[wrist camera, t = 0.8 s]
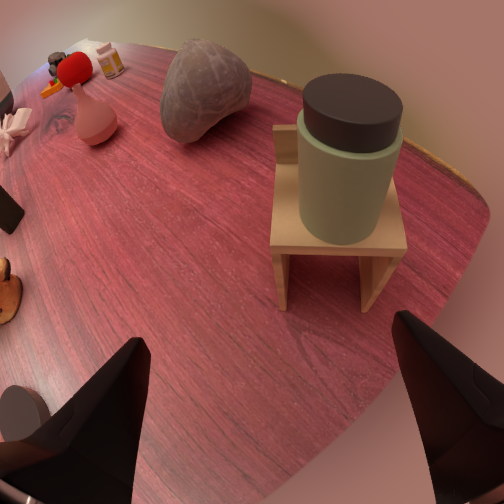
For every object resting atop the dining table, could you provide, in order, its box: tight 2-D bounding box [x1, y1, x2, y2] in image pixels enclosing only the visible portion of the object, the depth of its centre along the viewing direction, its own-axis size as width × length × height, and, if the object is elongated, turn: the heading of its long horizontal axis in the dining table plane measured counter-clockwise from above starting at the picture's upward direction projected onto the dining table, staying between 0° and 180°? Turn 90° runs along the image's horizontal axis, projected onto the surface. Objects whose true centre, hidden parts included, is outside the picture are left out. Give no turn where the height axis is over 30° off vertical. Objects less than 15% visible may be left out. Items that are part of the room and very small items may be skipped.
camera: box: [48, 52, 66, 77], centre depth 75 cm, size 15×7×10 cm, turn 55°
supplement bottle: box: [96, 42, 124, 79], centre depth 58 cm, size 5×5×10 cm
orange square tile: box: [41, 77, 64, 99], centre depth 69 cm, size 8×8×4 cm
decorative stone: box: [160, 39, 252, 143], centre depth 35 cm, size 15×10×15 cm
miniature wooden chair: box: [270, 125, 408, 313], centre depth 21 cm, size 7×8×14 cm
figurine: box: [0, 108, 33, 157], centre depth 53 cm, size 15×12×14 cm
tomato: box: [57, 52, 93, 88], centre depth 61 cm, size 10×11×11 cm
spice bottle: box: [297, 73, 403, 245], centre depth 14 cm, size 5×5×8 cm
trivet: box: [0, 385, 51, 442], centre depth 22 cm, size 9×9×2 cm
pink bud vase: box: [72, 83, 118, 145], centre depth 40 cm, size 8×8×12 cm
